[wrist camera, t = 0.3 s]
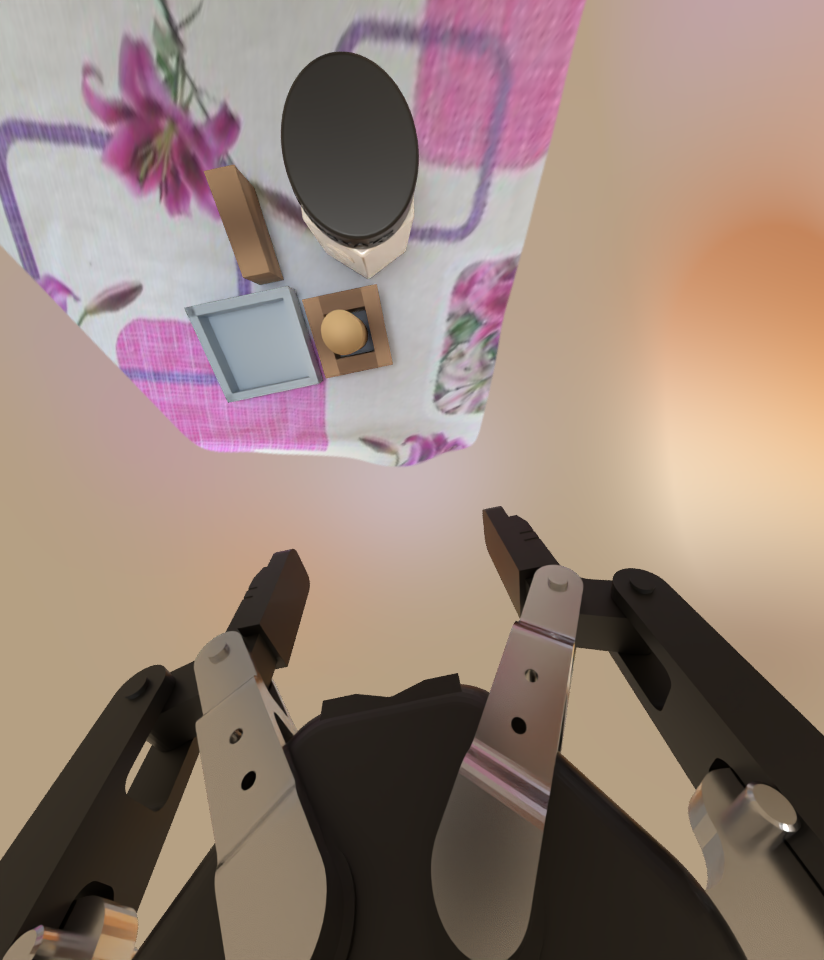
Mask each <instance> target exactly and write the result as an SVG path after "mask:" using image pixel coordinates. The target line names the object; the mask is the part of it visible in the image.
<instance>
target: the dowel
mask: <svg viewBox="0 0 824 960" xmlns="http://www.w3.org/2000/svg"><path fill="white" fill-rule="evenodd" d="M321 335H322V339H323V341H324V343H325V345H326V346H327V347H328V348H329V349H330V350H331V351H332V352H334V353H336V354H339V355H348V354H351V353H353V352H355V351H357V350H359V349H361V348H363V347H364V346H365V345H366V343H367V341H368V329H367V327H366V325H365V324H364V323H363V322H362V321H361V320H360V319H358V318H357V317H356V316H354V315H353V314H351V313H350V312H348V311H345V310H334V311H332V312H330V313H328V314H327V315H326V317H325V318H324V320H323V322H322V325H321Z"/></svg>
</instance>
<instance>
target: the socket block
mask: <svg viewBox="0 0 824 960" xmlns="http://www.w3.org/2000/svg"><path fill="white" fill-rule="evenodd" d="M302 302H303V305H304V308H305V312H306V315H307V318H308V321H309V325H310V328H311V331H312V335H313V338H314V341H315V344H316V348H317V351H318V354H319V358H320V361H321V364H322V367H323V371H324V374H325V377H326V378H330V377H335V376H340V375H344V374H349V373H354V372H359V371H363V370H368V369H373V368H378V367H382V366H387V365H392V364H393V362H392V357H391V353H390V348H389V343H388V338H387V333H386V328H385V323H384V318H383V313H382V308H381V303H380V298H379V294H378V289H377V284H374V285H369V286H365V287H360V288H355V289H351V290H346V291H341V292H336V293H332V294H327V295H322V296H317V297H313V298H308V299H303V300H302ZM334 310H345V311H348V312H350V313H353V312H358V311H362V310H366V314H367V318H368V323H369V327H370V332H371V336H372V341H373V345H374V349H375V350H374V351H369V352H364V353H359V354H355V355H350V356H345V357H341V355H339V354H336V353H334V352H332V351H331V350H330V349H329V348H328V347H327V346H326V345H325V343H324V341H323V339H322V335H321V325H322V322H323V320H324V318H325V317H326V315H327V314H328V313H330V312H332V311H334Z"/></svg>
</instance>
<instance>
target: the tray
mask: <svg viewBox="0 0 824 960" xmlns="http://www.w3.org/2000/svg"><path fill="white" fill-rule="evenodd" d="M185 311H186V313H187V315H188V317H189V319H190V321H191V324H192V326H193V328H194V330H195V332H196V334H197V337H198V339H199V341H200V343H201V345H202V347H203V350H204V352H205V354H206V356H207V358H208V360H209V362H210V365H211V367H212V369H213V371H214V373H215V375H216V378H217V380H218V382H219V384H220V386H221V388H222V391H223V393H224V395H225V397H226V399H227V401H228V403H229V402H234V401H239V400H244V399H248V398H253V397H258V396H263V395H267V394H272V393H277V392H282V391H287V390H291V389H296V388H301V387H306V386H310V385H315V384H319V383H321V382H322V381H323V378H322V375H321V372H320V369H319V366H318V362H317V359H316V356H315V353H314V349H313V346H312V343H311V340H310V336H309V333H308V330H307V327H306V324H305V320H304V317H303V314H302V311H301V307H300V304H299V301H298V298H297V295H296V291H295V289H293V288H291V287H289V286H285V287H281V288H276V289H271V290H266V291H262V292H257V293H252V294H248V295H243V296H238V297H233V298H229V299H224V300H219V301H215V302H210V303H205V304H200V305H196V306H191V307H186V308H185Z"/></svg>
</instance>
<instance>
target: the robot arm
mask: <svg viewBox="0 0 824 960" xmlns="http://www.w3.org/2000/svg"><path fill="white" fill-rule="evenodd" d="M483 524H484V535H485V542H486V546H487V550H488V552H489V554H490V557H491V559H492V561H493V563H494V565H495V567H496V569H497V571H498V573H499V576H500V578H501V580H502V582H503V584H504V586H505V588H506V590H507V592H508V594H509V596H510V599H511V601H512V603H513V605H514V607H515V609H516V611H517V613H518V616H519V618H520V620H519V622H517V621H516V622H515V623H514V624H513V626H512V629H511V632H510V635H509V638H508V641H507V644H506V646H505V649H504V652H503V656H502V658H501V661H500V664H499V667H498V670H497V673H496V676H495V679H494V682H493V685H492V687H491V690H490V693H489V692H487V691H486V690H483V689H480V688H478V687H474V686H470V685H464V684H460V680H459V676H458V673H456V674H451V675H446V676H441V677H437V678H432V679H427V680H424V681H422V682H420V683H418V684H416V685H414V686H412V687H410V688H408V689H406V690H404V691H402V692H400V693H398V694H396V695H394V696H392V697H382V696H371V695H360V694H354V695H349V696H344V697H340V698H335V699H330V700H324V701H323V704H322V711H321V714H320V715H318V716H317V717H315V718H314V719H312V720H311V721H309V722H308V723H307V724H305V726H303V727H302V728H301V729H300V730H299V731H298V730H297V728H296V727H295V725H294V723H293V721H292V719H291V717H290V715H289V712H288V710H287V708H286V706H285V703H284V701H283V699H282V697H281V695H280V693H279V690H278V688H277V686H276V684H275V682H274V680H273V679H272V676H273V673H274V670H275V669H279V668H284V667H287V666H288V663H289V660H290V656H291V653H292V649H293V646H294V642H295V639H296V635H297V632H298V628H299V625H300V621H301V617H302V614H303V610H304V607H305V603H306V600H307V596H308V593H309V588H310V581H309V577H308V574H307V572H306V570H305V568H304V566H303V564H302V562H301V559H300V557H299V555H298V553H297V551H296V550H295V549H290V550H285V551H281V552H276V553H275V554H273V556H272V558H271V560H270V562H269V564H268V566H267V567H264V568H263V569H262V570H261V571H260V572H259V573H258V574H257V575H256V576H255V577H254V579H253V581H252V582H251V584H250V586H249V590H248V591H247V592H246V594H245V596H244V600H242V602H241V604H240V606H239V607H238V610H237V611H236V613H235V616H234V618H233V619H232V621H231V623H230V625H229V627H228V629H227V631H226V632H225V633H222V634H221V635H219V636H217V637H215V638H214V639H212V640H211V641H210V642H209V643H207V644H206V645H205V646H204V647H203V648H202V650H201V651H200V652H199V654H198V655H197V657H196V659H195V661H193V662H191V663H189V664H187V665H185V666H183V667H181V668H178V669H176V670H174V671H172V672H169V671H168V670H167V669H166V668H165V667H164V666H162V665H153V666H150V667H148V668H145V669H143V670H142V671H140V672H138V673H137V674H135V675H134V676H133V677H132V678H130V679H129V680H128V681H127V682H126V683H125V684H123V686H122V687H121V688H120V689H119V690H118V691H117V692H116V694H115V695H114V696H113V698H112V699H111V701H110V703H109V704H108V705H107V707H106V708H105V710H104V711H103V712H102V714H101V715H100V717H99V718H98V720H97V721H96V723H95V724H94V726H93V727H92V728H91V730H90V731H89V733H88V734H87V736H86V737H85V739H84V740H83V741H82V743H81V744H80V746H79V747H78V749H77V750H76V752H75V753H74V755H73V756H72V758H71V759H70V760H69V762H68V763H67V765H66V766H65V768H64V769H63V771H62V772H61V773H60V775H59V777H58V778H57V779H56V781H55V782H54V784H53V785H52V786H51V788H50V790H49V791H48V792H47V794H46V795H45V797H44V798H43V800H42V801H41V802H40V804H39V806H38V807H37V808H36V810H35V811H34V813H33V814H32V816H31V817H30V818H29V820H28V821H27V823H26V824H25V826H24V827H23V829H22V830H21V832H20V833H19V834H18V836H17V837H16V839H15V840H14V842H13V843H12V845H11V846H10V848H9V849H8V850H7V852H6V853H5V855H4V856H3V858H2V859H1V861H0V960H824V736H823V735H822V734H821V733H820V732H819V731H818V730H817V729H816V728H815V727H814V726H813V725H812V724H811V723H810V722H809V721H808V720H807V719H806V718H805V717H804V716H803V715H802V714H801V713H800V712H799V711H798V710H797V709H796V708H795V707H794V706H793V705H792V704H791V703H790V702H788V700H786V699H785V698H784V697H783V696H782V695H781V694H780V693H779V692H778V691H777V690H776V689H775V688H774V687H773V686H772V685H771V684H770V683H769V682H768V681H767V680H766V679H765V678H764V677H763V676H762V675H761V674H760V673H759V672H758V671H757V670H755V669H754V667H752V665H751V664H750V663H748V662H747V661H746V660H745V659H744V658H743V657H742V656H741V655H740V654H739V653H738V652H737V651H736V650H735V649H734V648H733V647H732V646H731V645H730V644H729V643H728V642H727V641H726V640H725V639H724V638H723V637H722V636H721V635H720V634H718V632H717V631H716V630H715V629H714V628H713V627H711V626H710V625H709V624H708V623H707V622H706V621H705V620H704V619H703V618H702V617H701V616H700V615H699V614H698V613H697V612H696V611H695V610H694V609H693V608H692V607H691V606H690V605H689V604H688V603H687V602H686V601H685V600H684V599H683V598H682V597H681V596H680V595H678V593H677V592H676V591H675V590H674V589H673V588H671V587H670V586H669V585H668V584H667V583H666V582H665V581H664V580H663V579H661V578H660V577H658V576H657V575H655V574H653V573H650V572H648V571H645V570H641V569H635V568H634V569H633V568H628V569H622V570H620V571H618V572H616V573H615V574H614V576H613V580H612V581H610V580H593V579H585V578H581V577H579V575H577V573H575V572H574V571H573V570H571V569H569V568H567V567H564V566H560V565H559V563H558V562H557V561H556V559H555V558H554V557H553V555H552V554H551V553H550V551H549V550H548V549H547V547H546V546H545V545H544V543H543V542H542V541H541V539H539V537H538V535H537V534H536V533H535V532H534V531H533V529H532V527H531V526H530V525H529V523H528V522H527V521H525V520H523V519H522V518H520V517H518V516H517V515H515V516H510V517H508V515H507V514H506V513H505V511H504V509H503V508H502V507H501V506H498V507H493V508H488V509H484V510H483ZM576 647H579V648H586V649H595V650H603V651H609V653H610V654H611V656H612V658H613V659H614V661H615V663H616V664H617V665H618V667H619V669H620V670H621V672H622V674H623V675H624V677H625V678H626V680H627V682H628V683H629V685H630V686H631V688H632V689H633V691H634V693H635V694H636V696H637V697H638V699H639V700H640V702H641V704H642V705H643V707H644V708H645V710H646V711H647V713H648V715H649V716H650V718H651V719H652V721H653V723H654V724H655V726H656V727H657V729H658V731H659V732H660V734H661V735H662V737H663V738H664V740H665V741H666V743H667V745H668V746H669V748H670V749H671V751H672V753H673V754H674V756H675V757H676V759H677V761H678V762H679V764H680V765H681V767H682V769H683V770H684V772H685V773H686V775H687V776H688V778H689V779H690V781H691V783H692V784H693V786H694V787H695V789H696V791H695V792H694V794H693V795H692V797H691V799H690V801H689V806H688V814H689V820H690V824H691V827H692V830H693V832H694V834H695V836H696V839H697V841H698V843H699V845H700V847H701V849H702V852H703V855H704V858H705V862H706V867H707V874H708V875H707V876H708V880H707V887H706V890H704V889H703V888H702V887H701V885H700V884H699V883H698V882H697V880H696V879H695V878H694V877H693V876H692V875H691V874H690V872H688V870H687V869H686V868H685V867H684V866H683V865H682V864H681V863H680V862H679V861H678V860H677V859H676V858H675V857H674V856H673V855H672V854H671V853H670V852H669V851H668V850H667V849H666V848H664V847H663V846H662V845H661V844H660V843H659V842H658V841H657V840H656V839H654V838H653V837H652V836H651V835H650V834H649V833H648V832H647V831H646V830H645V829H643V828H642V827H641V826H640V825H639V824H638V823H637V822H636V821H635V820H634V819H632V818H631V817H630V816H629V815H628V814H627V813H626V812H625V811H624V810H622V809H621V808H620V807H619V806H618V805H617V804H616V803H615V802H614V801H612V800H611V799H610V798H609V797H608V796H607V795H606V794H605V793H604V792H603V791H601V790H600V789H599V788H598V787H597V786H596V785H595V784H594V783H593V782H591V781H590V780H589V779H588V778H587V777H586V776H585V775H584V774H583V773H582V772H580V771H579V770H578V769H577V768H576V767H575V766H574V765H573V764H572V763H571V762H569V761H568V760H567V759H566V758H565V757H564V756H563V755H562V754H561V750H562V743H563V736H564V729H565V722H566V715H567V707H568V700H569V693H570V686H571V680H572V673H573V666H574V660H575V653H576ZM145 741H148V742H149V743H150V744H152V746H151V748H150V750H149V752H148V754H147V756H146V758H145V760H144V762H143V763H142V765H141V767H140V769H139V771H138V773H137V775H136V777H135V779H134V781H133V783H132V785H131V787H130V789H129V791H128V793H127V794H126V792H125V783H126V779H127V776H128V774H129V771H130V769H131V768H132V766H133V764H134V762H135V760H136V758H137V756H138V754H139V753H140V751H141V749H142V747H143V745H144V743H145ZM199 752H200V756H201V762H202V768H203V774H204V780H205V785H206V791H207V797H208V803H209V810H210V815H211V821H212V827H213V833H214V839H215V844H214V845H213V847H212V848H211V849H210V851H209V852H208V854H207V855H206V856H205V858H204V859H203V860H202V862H201V863H200V865H199V866H198V868H197V869H196V870H195V872H194V873H193V874H192V876H191V878H190V879H189V880H188V882H187V883H186V884H185V886H184V887H183V888H182V890H181V891H180V893H179V894H178V895H177V897H176V898H175V899H174V901H173V902H172V904H171V905H170V906H169V908H168V909H167V911H166V912H165V913H164V915H163V916H162V918H161V919H160V920H159V922H158V923H157V925H156V926H155V927H154V929H153V930H152V932H151V933H150V935H149V936H148V937H147V939H146V940H145V941H144V943H143V944H142V946H141V947H140V948H139V950H138V949H137V948H136V947H135V943H136V938H137V932H138V917H137V911H138V908H139V905H140V903H141V900H142V898H143V895H144V893H145V890H146V887H147V885H148V882H149V880H150V877H151V875H152V872H153V870H154V867H155V865H156V862H157V859H158V857H159V854H160V852H161V849H162V846H163V844H164V841H165V839H166V836H167V834H168V831H169V829H170V826H171V823H172V821H173V819H174V816H175V813H176V811H177V808H178V806H179V803H180V801H181V798H182V795H183V793H184V790H185V788H186V785H187V783H188V780H189V778H190V775H191V773H192V770H193V767H194V765H195V762H196V760H197V757H198V755H199Z"/></svg>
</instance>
